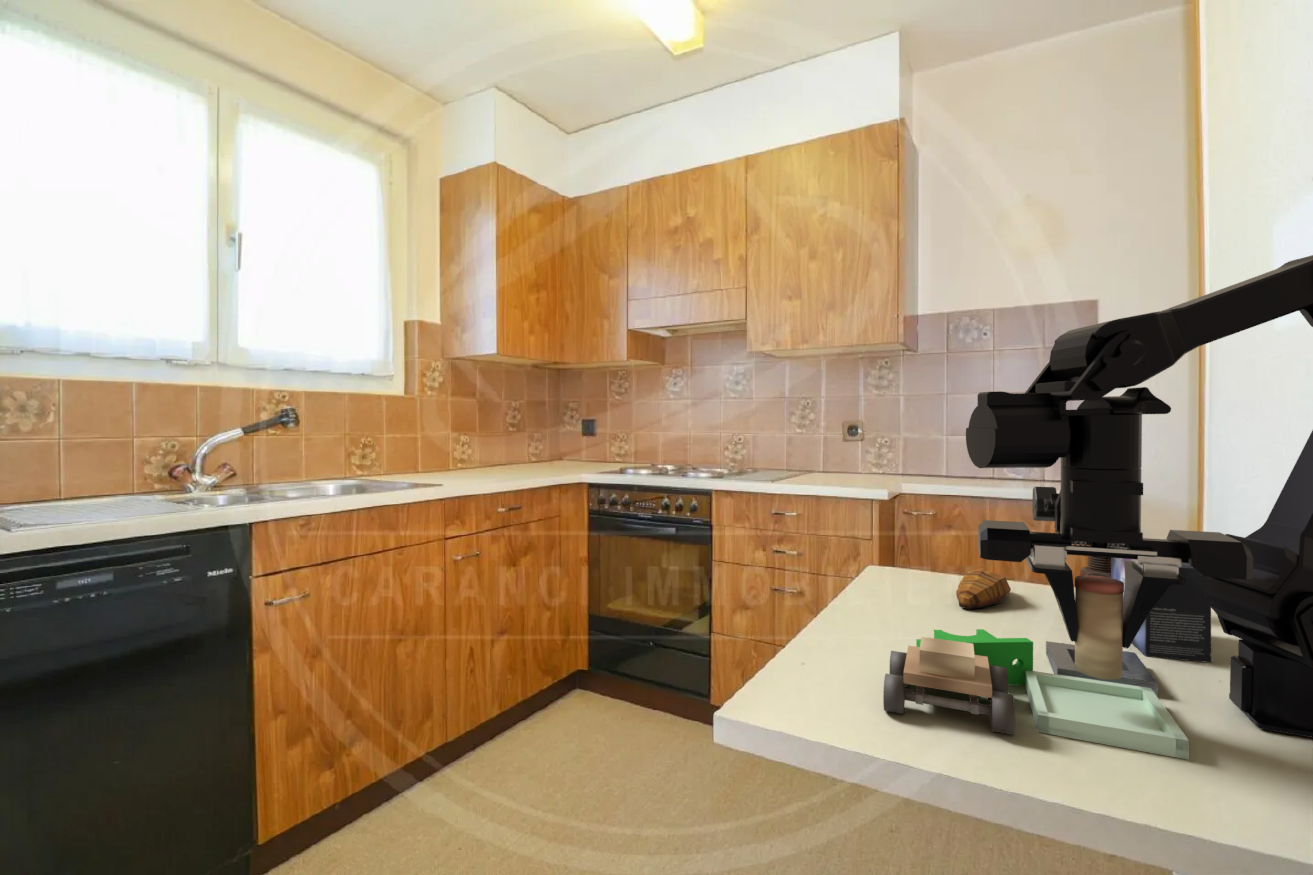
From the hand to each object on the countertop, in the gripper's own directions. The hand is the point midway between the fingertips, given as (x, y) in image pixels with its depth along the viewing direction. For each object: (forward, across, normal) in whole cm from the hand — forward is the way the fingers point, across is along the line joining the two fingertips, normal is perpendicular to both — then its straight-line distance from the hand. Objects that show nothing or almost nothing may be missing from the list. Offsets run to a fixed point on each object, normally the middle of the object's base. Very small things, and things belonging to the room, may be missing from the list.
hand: (1098, 643), depth 53 cm
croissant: (+7, +7, -34) cm, 36 cm away
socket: (+7, -2, -11) cm, 13 cm away
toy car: (+7, +12, +3) cm, 14 cm away
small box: (+7, -10, -24) cm, 27 cm away
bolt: (+7, -7, -36) cm, 37 cm away
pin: (+2, 0, 0) cm, 2 cm away
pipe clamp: (+7, +10, -4) cm, 13 cm away
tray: (+7, 0, 0) cm, 7 cm away
